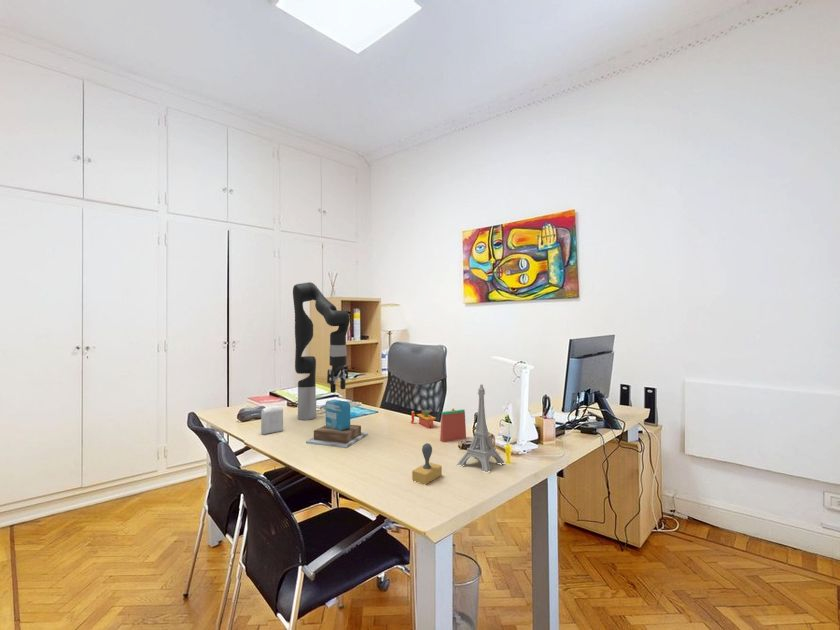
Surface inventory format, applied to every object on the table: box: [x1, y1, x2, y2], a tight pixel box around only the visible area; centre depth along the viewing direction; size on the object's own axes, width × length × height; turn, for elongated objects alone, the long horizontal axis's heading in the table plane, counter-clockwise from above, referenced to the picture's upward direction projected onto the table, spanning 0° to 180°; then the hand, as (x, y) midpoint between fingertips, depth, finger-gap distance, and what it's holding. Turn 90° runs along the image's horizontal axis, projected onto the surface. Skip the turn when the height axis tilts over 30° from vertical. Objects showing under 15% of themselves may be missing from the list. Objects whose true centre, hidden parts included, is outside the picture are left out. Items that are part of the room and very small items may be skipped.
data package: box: [325, 399, 351, 431], centre depth 187 cm, size 12×4×12 cm, turn 51°
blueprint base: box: [305, 424, 369, 449], centre depth 187 cm, size 20×20×5 cm
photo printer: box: [260, 405, 284, 435], centre depth 198 cm, size 10×4×12 cm, turn 134°
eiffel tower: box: [456, 384, 505, 472], centre depth 156 cm, size 13×13×30 cm
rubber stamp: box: [411, 442, 443, 485], centre depth 143 cm, size 10×6×12 cm, turn 144°
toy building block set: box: [410, 408, 467, 443], centre depth 201 cm, size 12×35×14 cm, turn 27°
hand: (338, 390), depth 187 cm, fingers open, 8 cm apart
